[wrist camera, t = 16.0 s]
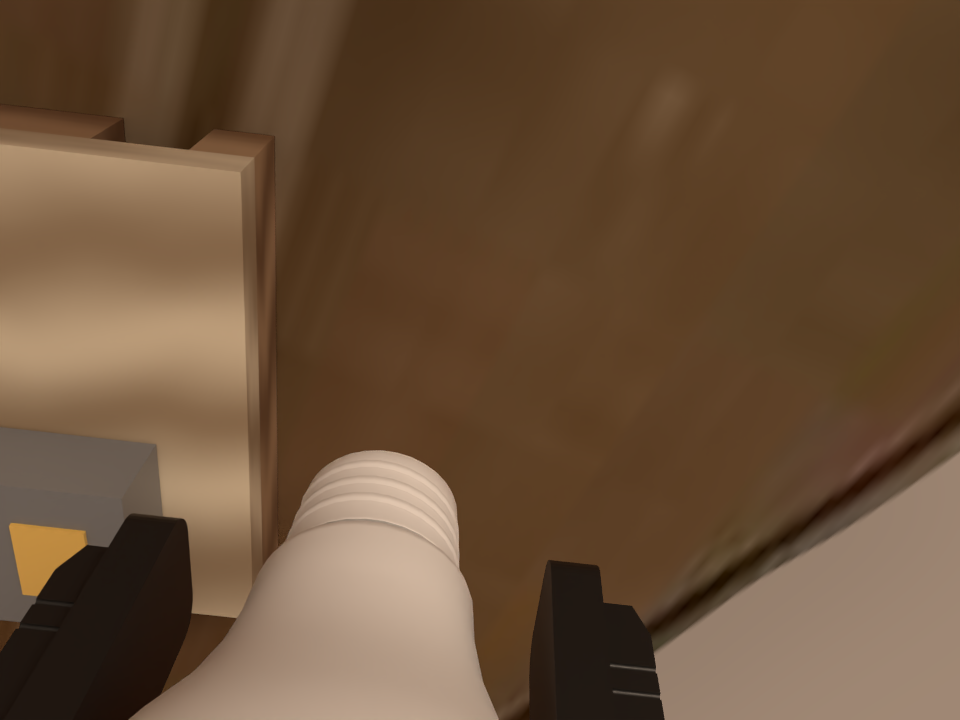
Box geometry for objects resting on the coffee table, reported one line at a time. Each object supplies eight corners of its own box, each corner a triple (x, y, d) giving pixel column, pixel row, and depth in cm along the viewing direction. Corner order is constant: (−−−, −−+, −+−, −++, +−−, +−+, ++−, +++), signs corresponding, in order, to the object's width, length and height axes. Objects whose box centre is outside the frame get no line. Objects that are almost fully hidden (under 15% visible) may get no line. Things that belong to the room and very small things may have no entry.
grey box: (-48, 421, 30) (-105, 477, 27) (156, 444, 30) (119, 501, 27) (-18, 554, 33) (-67, 616, 30) (167, 574, 33) (136, 637, 30)
